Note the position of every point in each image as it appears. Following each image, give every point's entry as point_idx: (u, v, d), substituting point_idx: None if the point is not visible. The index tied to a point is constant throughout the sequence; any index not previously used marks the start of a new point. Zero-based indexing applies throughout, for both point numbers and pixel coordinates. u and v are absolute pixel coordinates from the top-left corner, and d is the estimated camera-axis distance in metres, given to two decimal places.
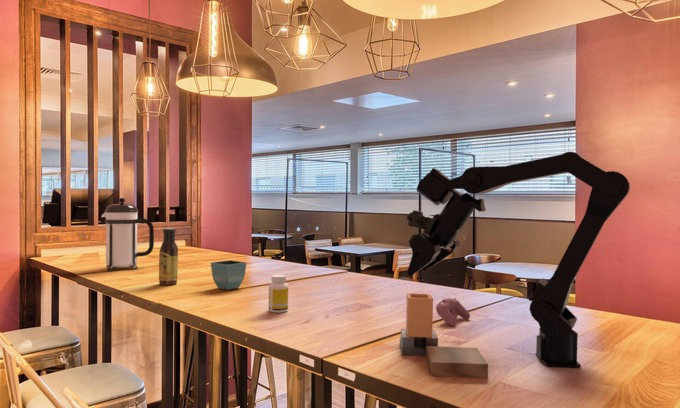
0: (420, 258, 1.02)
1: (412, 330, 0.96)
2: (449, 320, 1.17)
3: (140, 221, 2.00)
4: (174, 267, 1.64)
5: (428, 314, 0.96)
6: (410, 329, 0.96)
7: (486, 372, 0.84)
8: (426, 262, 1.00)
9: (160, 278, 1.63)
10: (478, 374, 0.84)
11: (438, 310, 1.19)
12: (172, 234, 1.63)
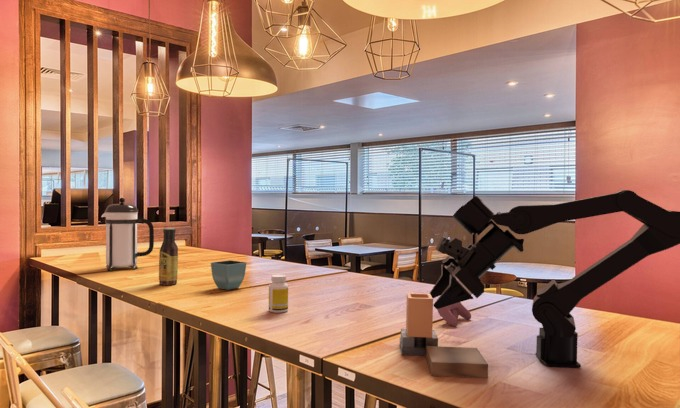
0: (456, 292, 0.92)
1: (412, 330, 0.96)
2: (450, 320, 1.17)
3: (140, 221, 2.00)
4: (174, 267, 1.64)
5: (428, 314, 0.96)
6: (410, 329, 0.96)
7: (486, 372, 0.84)
8: (464, 299, 0.91)
9: (160, 278, 1.63)
10: (478, 374, 0.84)
11: (439, 310, 1.19)
12: (172, 234, 1.63)
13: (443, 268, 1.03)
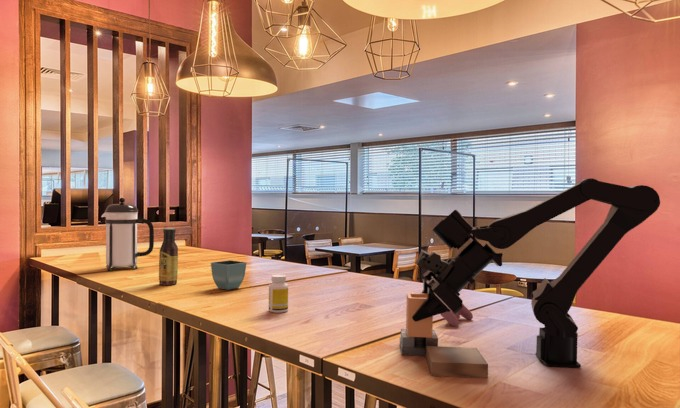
0: (433, 305, 0.94)
1: (412, 330, 0.96)
2: (452, 320, 1.17)
3: (140, 221, 2.00)
4: (174, 267, 1.64)
5: None
6: (410, 329, 0.96)
7: (486, 372, 0.84)
8: (441, 311, 0.94)
9: (160, 278, 1.63)
10: (478, 374, 0.84)
11: None
12: (172, 234, 1.63)
13: (425, 283, 1.01)
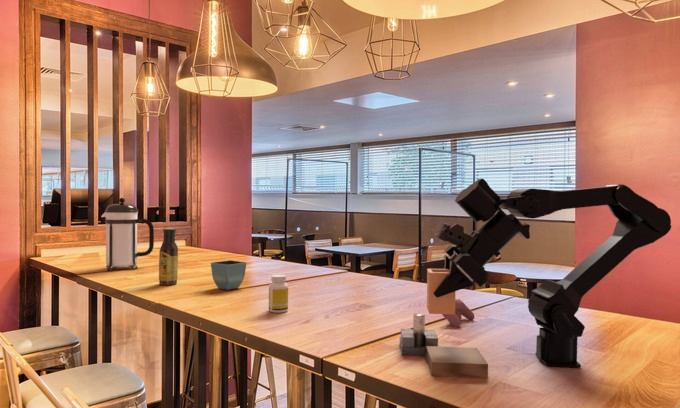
0: (456, 280, 0.89)
1: (433, 307, 0.91)
2: (454, 321, 1.16)
3: (140, 221, 2.00)
4: (174, 267, 1.64)
5: None
6: (431, 306, 0.91)
7: (486, 372, 0.84)
8: (465, 286, 0.88)
9: (160, 278, 1.63)
10: (478, 374, 0.84)
11: None
12: (172, 234, 1.63)
13: (446, 258, 0.96)
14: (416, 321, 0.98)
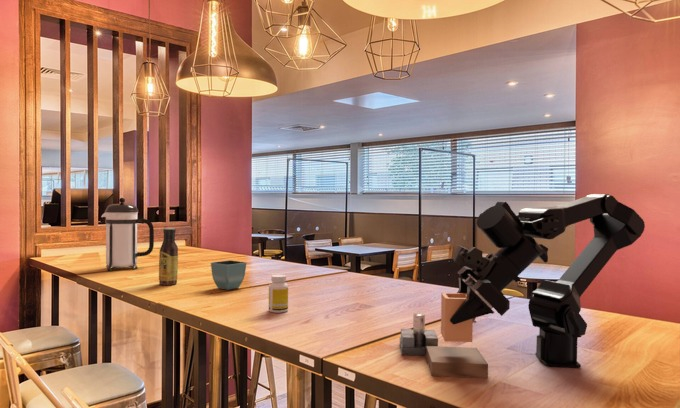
0: (474, 306, 0.84)
1: (449, 334, 0.86)
2: None
3: (140, 221, 2.00)
4: (174, 267, 1.64)
5: None
6: (447, 333, 0.86)
7: (486, 372, 0.84)
8: (483, 313, 0.84)
9: (160, 278, 1.63)
10: (478, 374, 0.84)
11: None
12: (172, 234, 1.63)
13: (461, 282, 0.92)
14: (416, 321, 0.98)
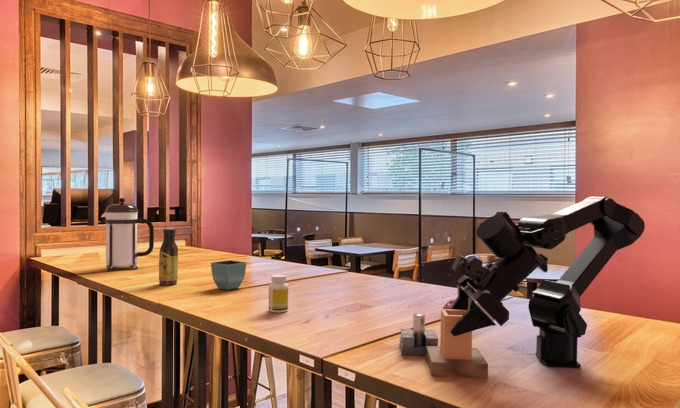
0: (475, 318, 0.83)
1: (448, 352, 0.86)
2: None
3: (140, 221, 2.00)
4: (174, 267, 1.64)
5: (467, 334, 0.86)
6: (447, 350, 0.86)
7: (486, 372, 0.84)
8: (485, 325, 0.82)
9: (160, 278, 1.63)
10: (478, 374, 0.84)
11: None
12: (172, 234, 1.63)
13: (460, 290, 0.93)
14: (416, 321, 0.98)
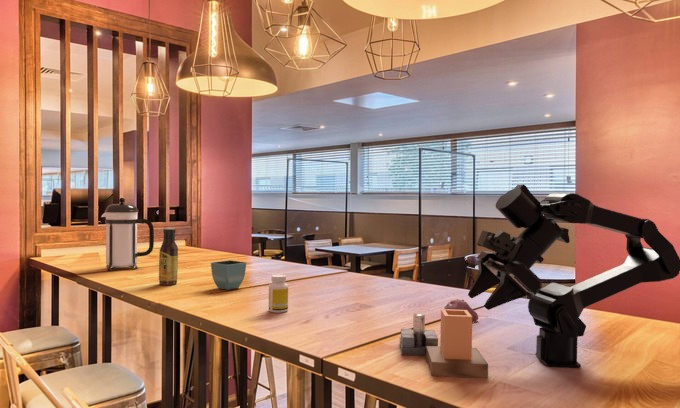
0: (508, 290, 0.85)
1: (448, 352, 0.86)
2: None
3: (140, 221, 2.00)
4: (174, 267, 1.64)
5: (467, 334, 0.86)
6: (447, 350, 0.86)
7: (486, 372, 0.84)
8: (518, 296, 0.85)
9: (160, 278, 1.63)
10: (478, 374, 0.84)
11: None
12: (172, 234, 1.63)
13: (481, 264, 0.96)
14: (416, 321, 0.98)
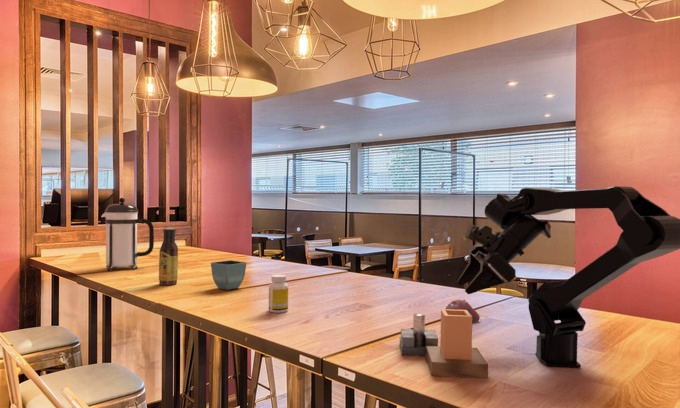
0: (487, 278, 0.96)
1: (448, 352, 0.86)
2: None
3: (140, 221, 2.00)
4: (174, 267, 1.64)
5: (467, 334, 0.86)
6: (447, 350, 0.86)
7: (486, 372, 0.84)
8: (495, 283, 0.95)
9: (160, 278, 1.63)
10: (478, 374, 0.84)
11: None
12: (172, 234, 1.63)
13: (471, 256, 1.06)
14: (416, 321, 0.98)
